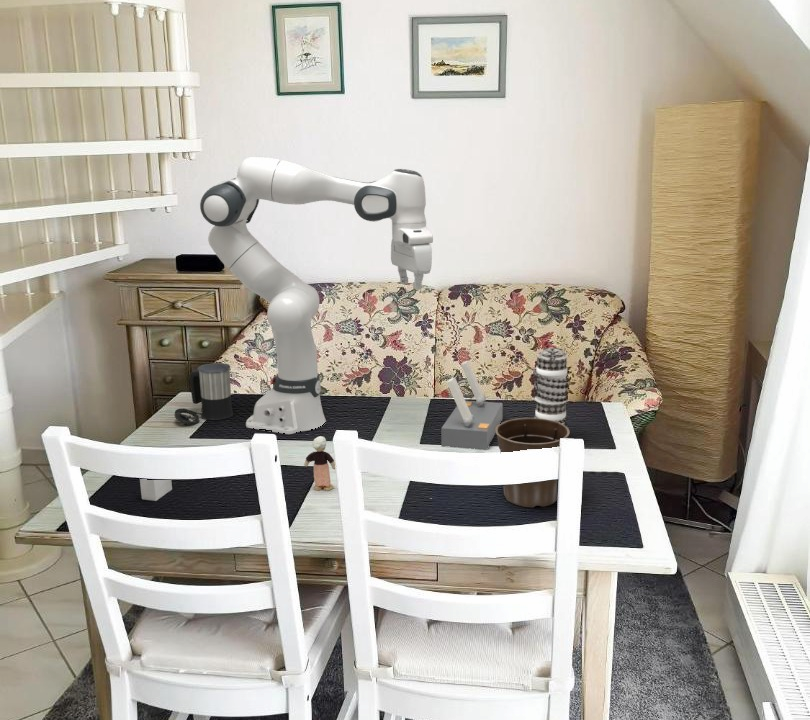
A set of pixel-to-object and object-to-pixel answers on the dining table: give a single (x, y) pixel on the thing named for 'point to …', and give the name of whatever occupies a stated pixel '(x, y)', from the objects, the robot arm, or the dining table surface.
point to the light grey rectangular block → (154, 488)
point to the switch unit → (472, 426)
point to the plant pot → (526, 437)
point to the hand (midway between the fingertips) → (410, 286)
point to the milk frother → (209, 393)
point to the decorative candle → (551, 385)
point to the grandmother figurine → (321, 464)
